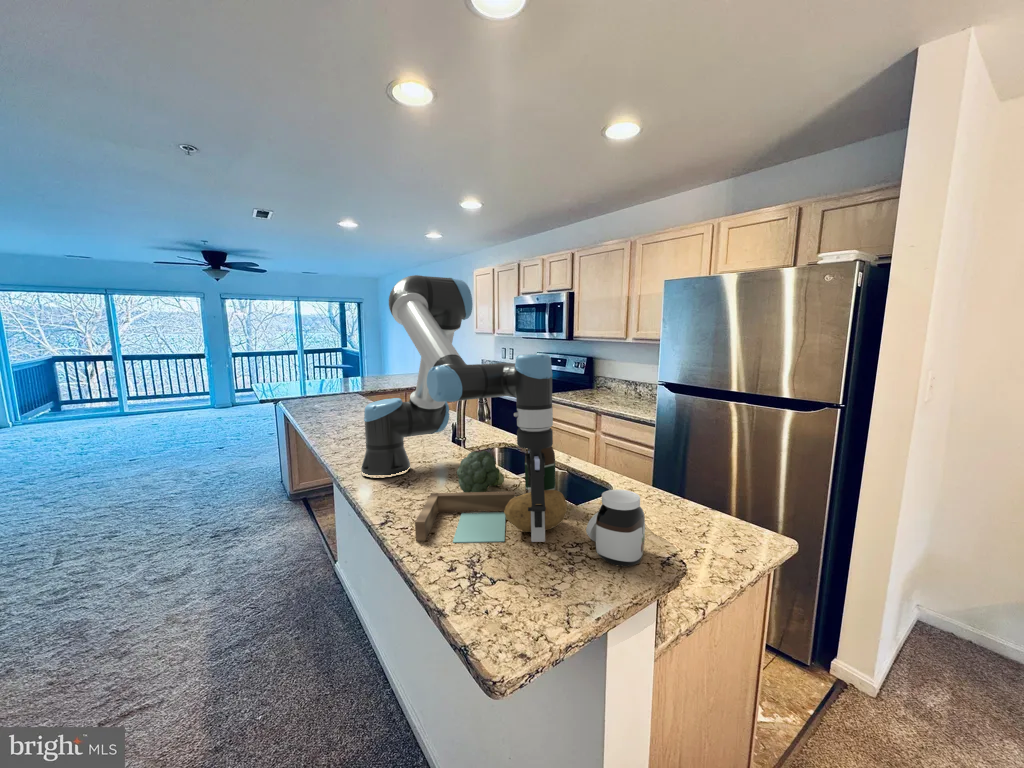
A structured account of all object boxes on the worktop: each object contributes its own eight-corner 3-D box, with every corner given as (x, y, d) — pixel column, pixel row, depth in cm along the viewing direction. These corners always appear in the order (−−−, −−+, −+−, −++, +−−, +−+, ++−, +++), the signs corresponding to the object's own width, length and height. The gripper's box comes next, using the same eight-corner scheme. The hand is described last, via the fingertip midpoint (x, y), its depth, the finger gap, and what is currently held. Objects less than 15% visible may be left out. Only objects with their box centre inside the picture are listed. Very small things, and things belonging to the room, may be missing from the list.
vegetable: (522, 483, 109) (486, 471, 99) (491, 511, 112) (452, 503, 102) (506, 450, 118) (471, 436, 107) (477, 477, 121) (440, 466, 110)
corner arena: (431, 508, 99) (431, 493, 98) (514, 507, 99) (514, 491, 98) (415, 540, 82) (414, 521, 82) (515, 538, 82) (515, 519, 82)
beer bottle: (519, 506, 99) (517, 410, 97) (535, 496, 105) (533, 406, 103) (546, 513, 95) (545, 412, 93) (561, 502, 101) (560, 408, 99)
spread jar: (632, 575, 68) (632, 509, 67) (571, 557, 74) (571, 496, 73) (652, 546, 78) (652, 488, 77) (597, 532, 84) (597, 478, 83)
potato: (498, 526, 88) (497, 491, 87) (555, 515, 93) (554, 482, 92) (514, 546, 79) (513, 507, 78) (576, 533, 84) (576, 496, 83)
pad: (461, 513, 95) (461, 512, 95) (505, 512, 95) (505, 511, 95) (452, 542, 81) (452, 542, 81) (504, 541, 81) (504, 540, 81)
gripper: (516, 418, 96) (517, 505, 98) (517, 440, 72) (520, 556, 74) (547, 417, 96) (548, 505, 98) (559, 440, 72) (560, 555, 74)
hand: (536, 527), depth 86 cm, fingers open, 12 cm apart
